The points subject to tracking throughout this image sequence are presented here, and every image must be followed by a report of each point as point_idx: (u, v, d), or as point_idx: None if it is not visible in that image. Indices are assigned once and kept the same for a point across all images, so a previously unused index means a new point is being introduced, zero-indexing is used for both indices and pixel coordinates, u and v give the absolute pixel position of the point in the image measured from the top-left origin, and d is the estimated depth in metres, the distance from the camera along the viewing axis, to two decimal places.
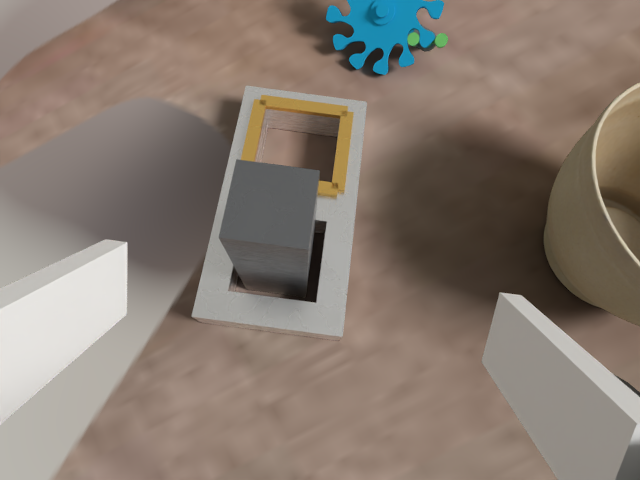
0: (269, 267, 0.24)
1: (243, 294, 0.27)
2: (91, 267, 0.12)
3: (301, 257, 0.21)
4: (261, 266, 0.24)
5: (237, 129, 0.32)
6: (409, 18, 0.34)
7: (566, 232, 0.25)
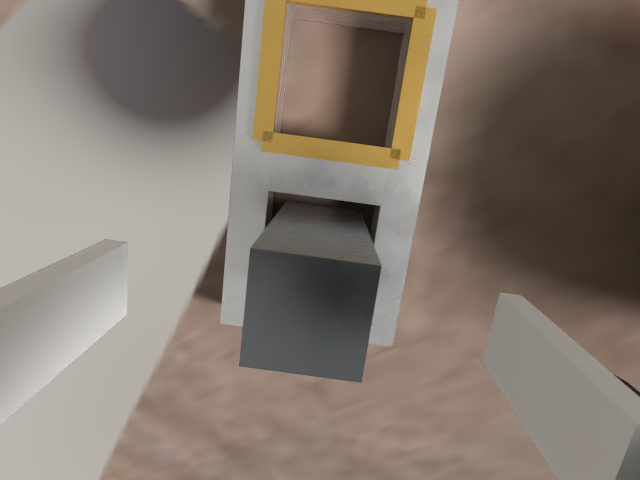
0: None
1: None
2: (91, 267, 0.12)
3: None
4: None
5: (244, 49, 0.20)
6: None
7: None
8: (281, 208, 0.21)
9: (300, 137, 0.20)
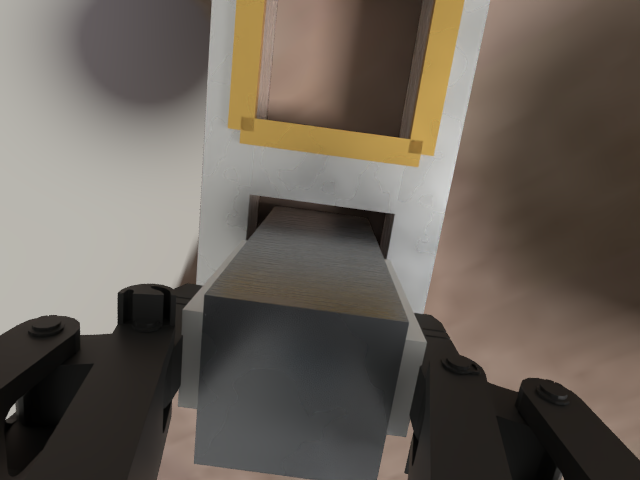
0: None
1: None
2: None
3: None
4: None
5: (215, 7, 0.15)
6: None
7: None
8: (266, 217, 0.16)
9: (290, 125, 0.15)
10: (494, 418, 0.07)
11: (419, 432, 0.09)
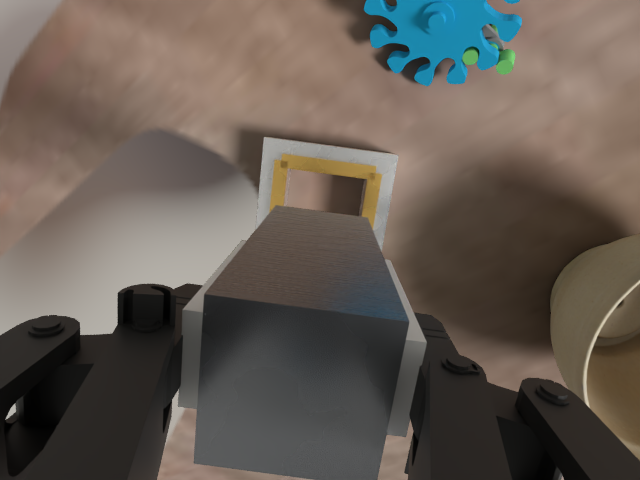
0: None
1: None
2: None
3: None
4: None
5: (260, 194, 0.31)
6: (470, 34, 0.26)
7: (557, 348, 0.28)
8: (266, 217, 0.16)
9: None
10: (494, 418, 0.07)
11: (419, 432, 0.09)
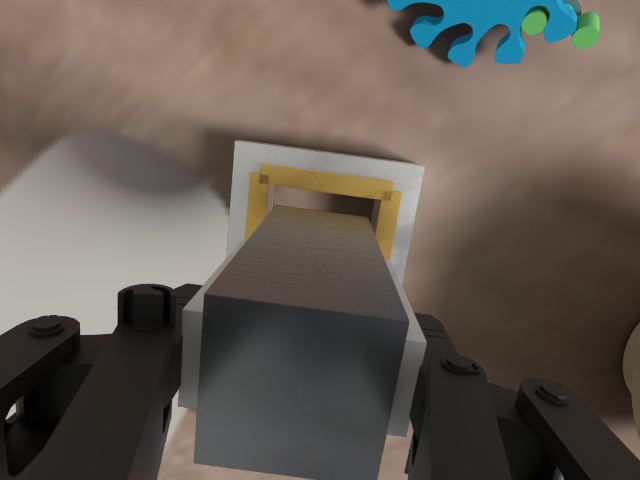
0: None
1: None
2: None
3: None
4: None
5: (231, 220, 0.22)
6: None
7: None
8: (266, 217, 0.16)
9: None
10: (494, 418, 0.07)
11: (419, 432, 0.09)
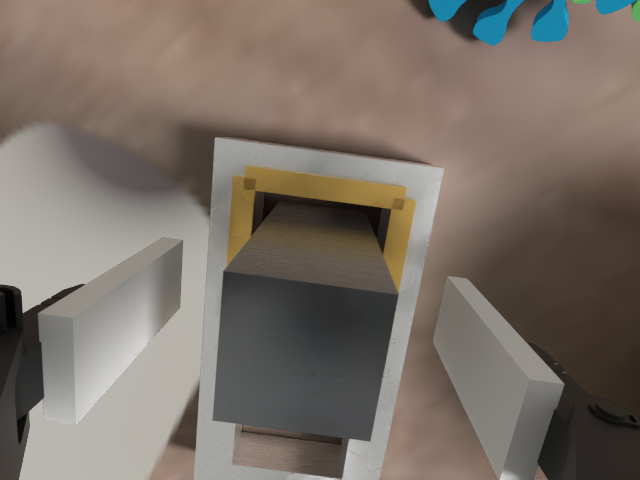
0: None
1: (251, 468, 0.22)
2: (158, 263, 0.13)
3: None
4: None
5: (212, 233, 0.19)
6: None
7: None
8: (272, 210, 0.18)
9: None
10: None
11: (556, 479, 0.08)
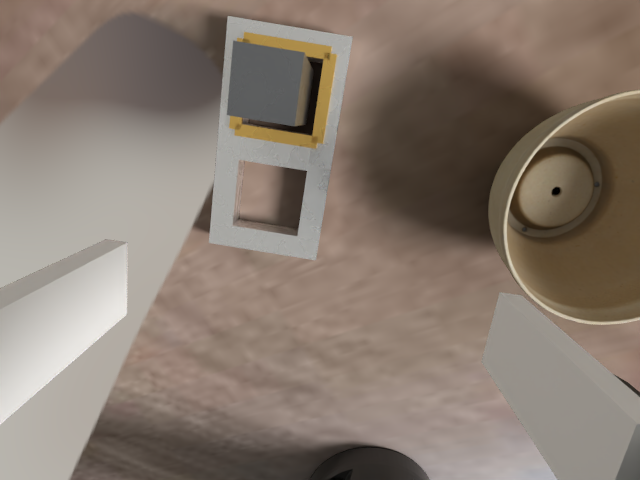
0: None
1: (243, 228, 0.37)
2: (91, 267, 0.12)
3: None
4: None
5: (224, 73, 0.33)
6: None
7: (490, 216, 0.31)
8: None
9: (257, 127, 0.34)
10: None
11: None
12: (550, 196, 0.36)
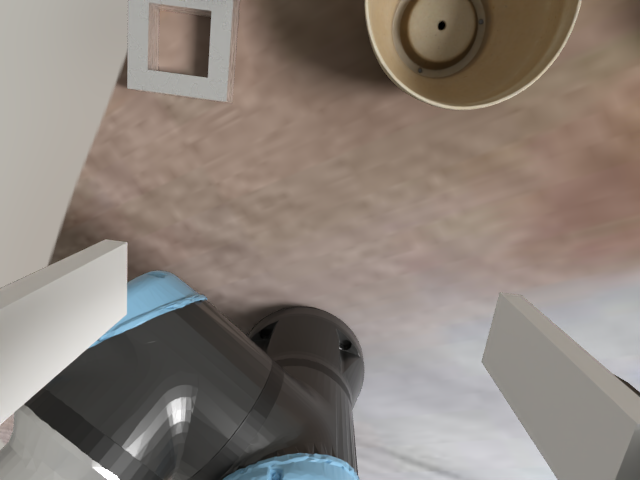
0: None
1: (158, 72, 0.40)
2: (91, 267, 0.12)
3: None
4: None
5: None
6: None
7: None
8: None
9: None
10: None
11: None
12: (436, 30, 0.39)
